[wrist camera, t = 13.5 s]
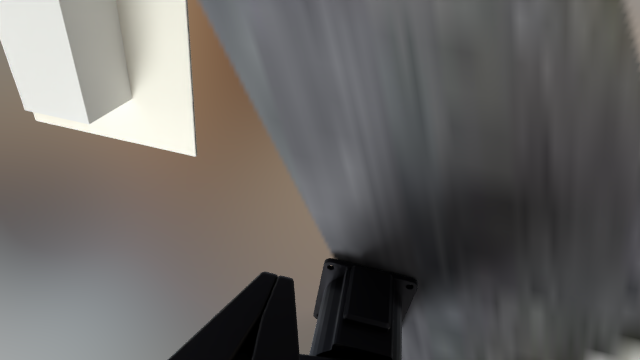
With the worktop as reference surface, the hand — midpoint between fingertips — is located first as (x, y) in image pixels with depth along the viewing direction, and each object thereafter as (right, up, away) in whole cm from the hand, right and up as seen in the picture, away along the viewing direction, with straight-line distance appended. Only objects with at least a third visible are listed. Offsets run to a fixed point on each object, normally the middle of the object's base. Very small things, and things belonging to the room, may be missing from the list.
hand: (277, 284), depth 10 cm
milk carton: (-11, +12, +9) cm, 19 cm away
